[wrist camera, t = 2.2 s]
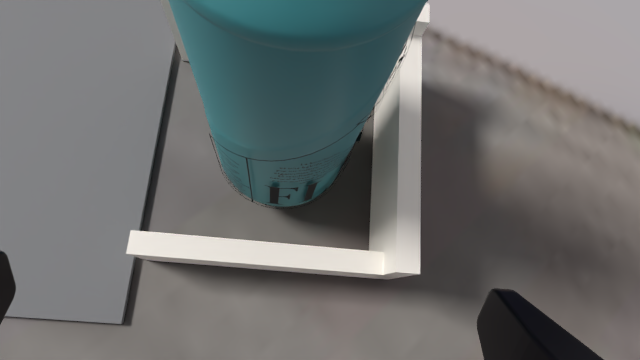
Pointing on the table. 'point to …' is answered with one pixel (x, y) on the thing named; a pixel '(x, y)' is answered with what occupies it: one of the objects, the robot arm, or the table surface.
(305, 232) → the table surface
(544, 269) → the table surface
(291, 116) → the beverage bottle
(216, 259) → the open-sided box
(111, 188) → the mat
